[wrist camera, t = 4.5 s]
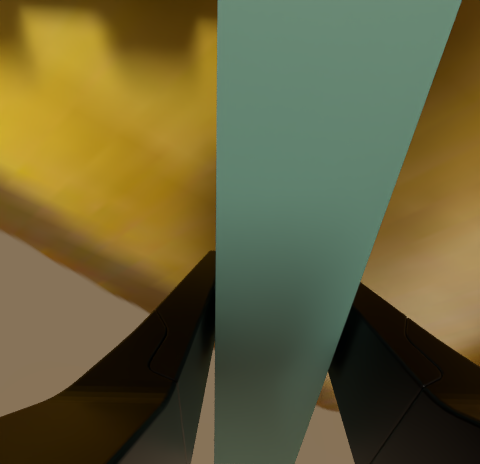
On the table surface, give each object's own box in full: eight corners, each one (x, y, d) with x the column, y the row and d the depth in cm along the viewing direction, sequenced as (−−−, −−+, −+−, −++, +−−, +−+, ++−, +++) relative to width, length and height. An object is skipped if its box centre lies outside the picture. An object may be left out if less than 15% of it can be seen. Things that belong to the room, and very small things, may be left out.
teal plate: (231, 26, 10) (218, -67, 3) (313, 31, 10) (479, -47, 3) (223, 304, 17) (214, 463, 10) (271, 306, 17) (294, 464, 10)
